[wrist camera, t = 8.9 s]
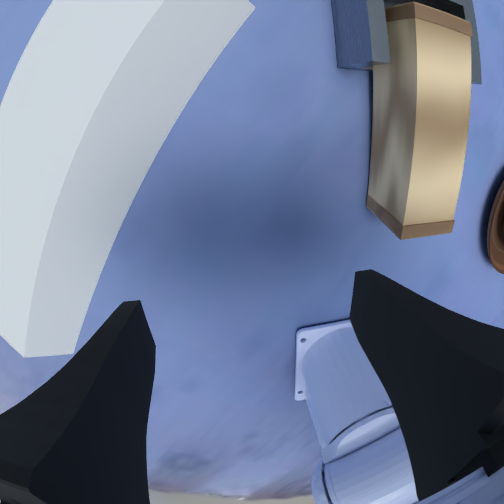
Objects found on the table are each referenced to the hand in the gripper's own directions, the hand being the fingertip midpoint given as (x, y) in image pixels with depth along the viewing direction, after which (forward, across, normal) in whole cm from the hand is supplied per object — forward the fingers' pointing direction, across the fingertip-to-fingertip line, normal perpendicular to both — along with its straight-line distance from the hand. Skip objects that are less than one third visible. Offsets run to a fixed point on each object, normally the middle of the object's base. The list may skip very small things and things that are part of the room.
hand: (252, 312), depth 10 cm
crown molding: (+11, +11, -4) cm, 16 cm away
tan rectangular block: (+9, -11, -6) cm, 16 cm away
